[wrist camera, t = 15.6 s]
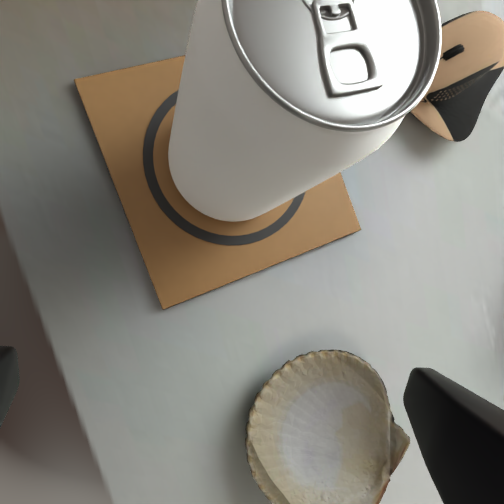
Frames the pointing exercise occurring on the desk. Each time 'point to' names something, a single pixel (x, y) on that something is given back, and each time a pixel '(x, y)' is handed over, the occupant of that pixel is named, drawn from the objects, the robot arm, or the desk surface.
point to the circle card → (173, 203)
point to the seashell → (324, 432)
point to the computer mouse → (463, 74)
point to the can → (293, 95)
